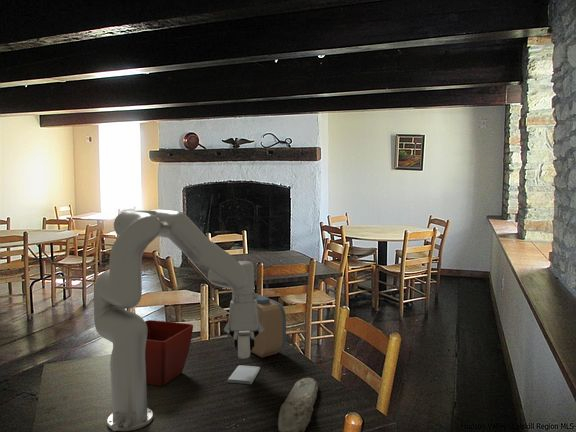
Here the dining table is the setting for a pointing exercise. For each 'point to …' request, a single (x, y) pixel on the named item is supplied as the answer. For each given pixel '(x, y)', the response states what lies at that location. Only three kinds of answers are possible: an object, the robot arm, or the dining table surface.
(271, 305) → the alarm clock
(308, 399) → the long grey stone
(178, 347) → the plant pot
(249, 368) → the hard drive
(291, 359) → the dining table surface
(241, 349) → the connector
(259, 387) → the dining table surface
